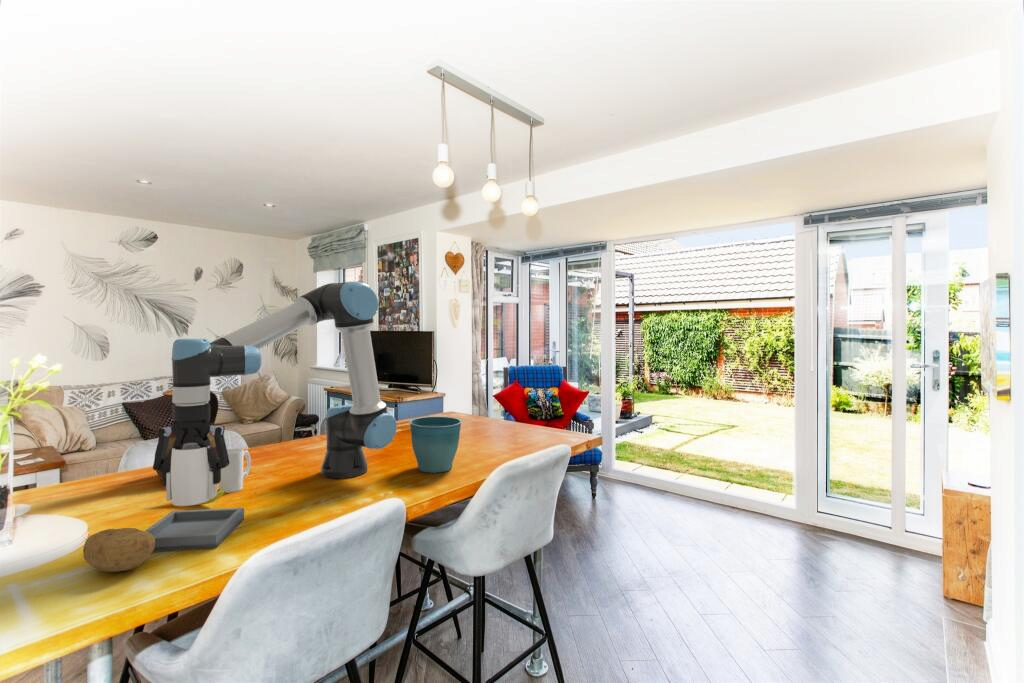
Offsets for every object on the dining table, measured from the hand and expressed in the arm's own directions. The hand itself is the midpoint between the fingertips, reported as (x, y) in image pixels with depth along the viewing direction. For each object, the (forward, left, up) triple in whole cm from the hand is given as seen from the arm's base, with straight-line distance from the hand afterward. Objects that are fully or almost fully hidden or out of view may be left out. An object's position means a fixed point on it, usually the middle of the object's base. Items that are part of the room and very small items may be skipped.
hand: (192, 497), depth 118 cm
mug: (+3, -35, -9) cm, 36 cm away
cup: (0, 0, -2) cm, 2 cm away
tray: (0, 0, -9) cm, 9 cm away
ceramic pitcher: (+22, -50, -9) cm, 55 cm away
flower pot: (-58, -48, -9) cm, 76 cm away
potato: (+7, +16, -9) cm, 20 cm away
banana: (+8, -21, -9) cm, 24 cm away
